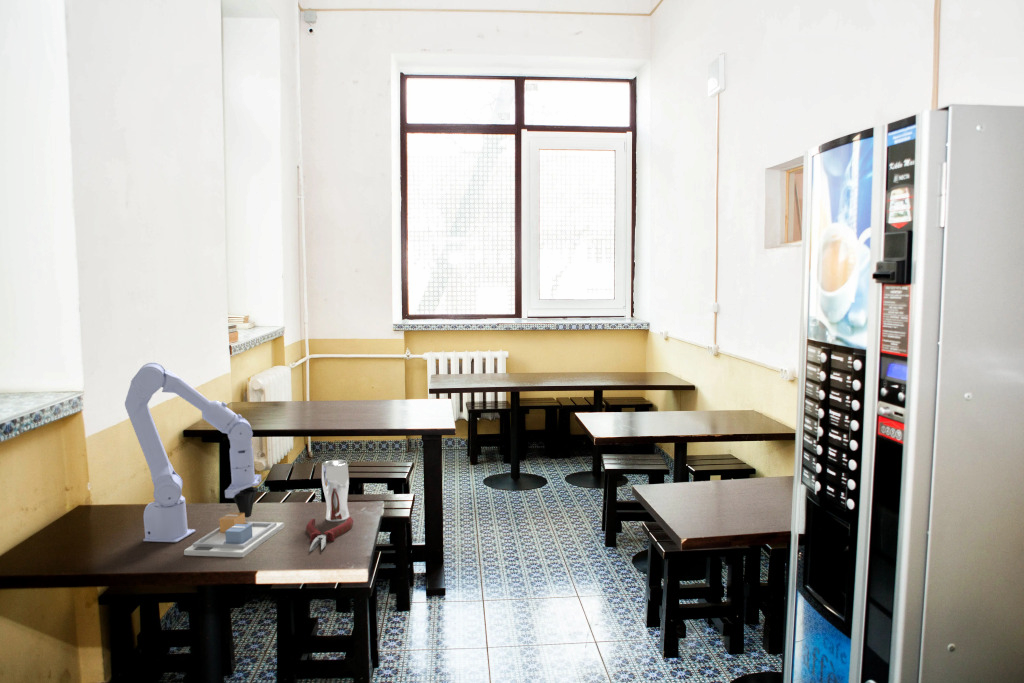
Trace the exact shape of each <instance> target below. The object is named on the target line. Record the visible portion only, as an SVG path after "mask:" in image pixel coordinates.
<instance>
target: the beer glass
mask: <svg viewBox="0 0 1024 683" xmlns="http://www.w3.org/2000/svg"><path fill="white" fill-rule="evenodd" d="M349 473H350V472H349V466H348V461H347V460H345V459H332V460H326V461H323V462H322V463H321V484H322V490H323V493H324V498H325V502H326V503H325V504H326V512H325V513H326V514H325V520H326V521H328V522H332V523H333V522H335V523H336V522H343V521H347V519H348V517H350V512H349V507H348V495H349V485H350V476H349Z"/></svg>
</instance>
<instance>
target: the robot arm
mask: <svg viewBox="0 0 1024 683" xmlns="http://www.w3.org/2000/svg"><path fill="white" fill-rule="evenodd" d="M161 388H162V390H161V392H162V393H171V394H172V393H173V394H176V395H177V396H179V397H180V398H182V399H183V400H185V401H186V402H188V403H189V404H190V405H192V406H194V407H195V408H197V409H198V410H199V411H201V418H202V420H204V421H206V423H208V424H209V425H210V426H213V427H214V428H215V429H217V430H218V431H220V432H221V433H222V434H226V435H227V438H228V440H229V445H230V448H229V462H230V473H231V474H230V476H231V483H230V484H229V486H228V487H227V488H226V489H225V490H224V497H225V499H232V500H234V502H235V504H236V506H237V509H238V511H239V512H238V513H245V518H250V517H251V516H252V514H253V513H252V512H253V507H254V502H255V498H256V496H257V493H258V492H259V487H258V485H260V483H261V482H262V481H263V480H262V474H255V472H256V471H255V461H254V460H255V459H254V458H255V457H254V447H253V441H252V438H253V435H254V432H253V430H252V426H251V424H250V422H249V421H248V420H247V419H246V418H244V417H243V416H242V414H240V413H236V412H234V411H233V410H231V409H230V407H229V408H228V407H227V406H228V404H227V403H226V402H225V401H222V402H220V401H219V400H209V398H207V397H206V396H204V395H203V394H201V393H200V392H199V391H198V390H197V389H195V388H194V387H193V386H191V385H190V383H188V382H187V381H185V380H184V379H183V378H182V377H180V376H179V375H178V374H176V373H175V372H173V371H171V370H169V369H168V368H166V369H165V367H164V366H163V365H161V364H160V363H157V362H148V363H146V364H143V365H142V367H141V368H140V369H139V370H138V372H137V373H136V374H135V375H134V376H133V377H132V378H131V380H130V385H129V387H128V391H127V395H126V398H125V401H124V407H125V409H126V413H127V414H128V417H129V420H130V422H131V425H132V427H133V430H134V433H135V436H136V438H137V440H138V443H139V445H140V448H141V450H142V453H143V456H144V459H145V461H146V463H147V465H148V468H149V472H150V475H151V476H150V477H151V480H152V484H153V488H154V489H153V498H154V501H152V502H149V503H148V504H147V505H146V506H145V508H144V510H143V526H144V537H145V538H143V542H156V543H178V542H179V541H182V540H183V539H185V538H186V537H188V536H190V535H192V534H193V533H195V532H196V529H192V528H188V518H187V516H188V514H187V506H186V503H187V502H186V497H185V496H183V495H182V493H183V492H182V489H183V485H184V482H183V479H182V476H180V475H179V474H178V473H177V472H176V471H175V468H174V466H173V465H172V463H171V461H170V459H169V457H168V454H167V451H166V449H165V446H164V444H163V441H162V438H161V435H160V433H159V431H158V428H157V425H156V424H155V420H154V418H153V416H152V415H153V414H152V412H151V410H150V407H149V405H148V404H149V403H150V401H151V399H152V398H153V395H154V394H155V393H157V392H158V391H159V390H160V389H161ZM256 486H257V487H256Z"/></svg>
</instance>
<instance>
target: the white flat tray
mask: <svg viewBox="0 0 1024 683" xmlns="http://www.w3.org/2000/svg"><path fill="white" fill-rule="evenodd" d="M245 524H252V536H253V537H252V538H251V539H249V540H248V541H246V542H245V543H243V544H229V543H226V535H225V533H220V526H219V527H217V528H215V529H214V530H212V531H211V532H208V533H207V534H205V535H204V536H202V537H201V538H199V539H198V540H196V541H195V542H193V543H192V545H190V546H188V547H187V548H185V549H184V550H183V551H184V552H183V553H184V554H183V555H184V556H198V557H199V556H200V557H202V556H203V557H224V558H225V557H226V558H227V557H228V558H244V557H245V556H247V555H249V554H250V553H251V552H252V551H254V550H255V549H256V548H258V547H260V545H262V544H264V543H265V542H266V541H267V540H269V539H270V538H271V537H273V536H274V535H275V534H277V533H278V532H280V530H282V529H284V528H285V522H278V521H277V522H275V521H273V522H271V521H270V522H268V521H245Z"/></svg>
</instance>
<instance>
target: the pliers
mask: <svg viewBox="0 0 1024 683" xmlns="http://www.w3.org/2000/svg"><path fill="white" fill-rule="evenodd" d="M353 525H354V519H353V518H352V517H351V516H349V517H348V519H346V520H345V522H343V523H341V524H339V525H337V526H335V527H333V528H331V529H329V530H325V531H324V532H323V534H322V532H321V531H320V530H319V529H317V528H316V519H315V518H311V519H309V521H308V522H307V524H306V527H305V528H306V532H307V534H308V535H309V538H310V539H309V541H310V543H311V544H310V548H309V550H308V552H309V553H310V552H312V551H314V550H315V549H317V548H318V546H319V545H320V546H321V547H320V551H321V552H322V550H324V548H326V545H327V542H334V541H336V540H335V538H336V537H339V536H341V535H343V534H344V533H348V531H350V530H351V529H352V528H353Z"/></svg>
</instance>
